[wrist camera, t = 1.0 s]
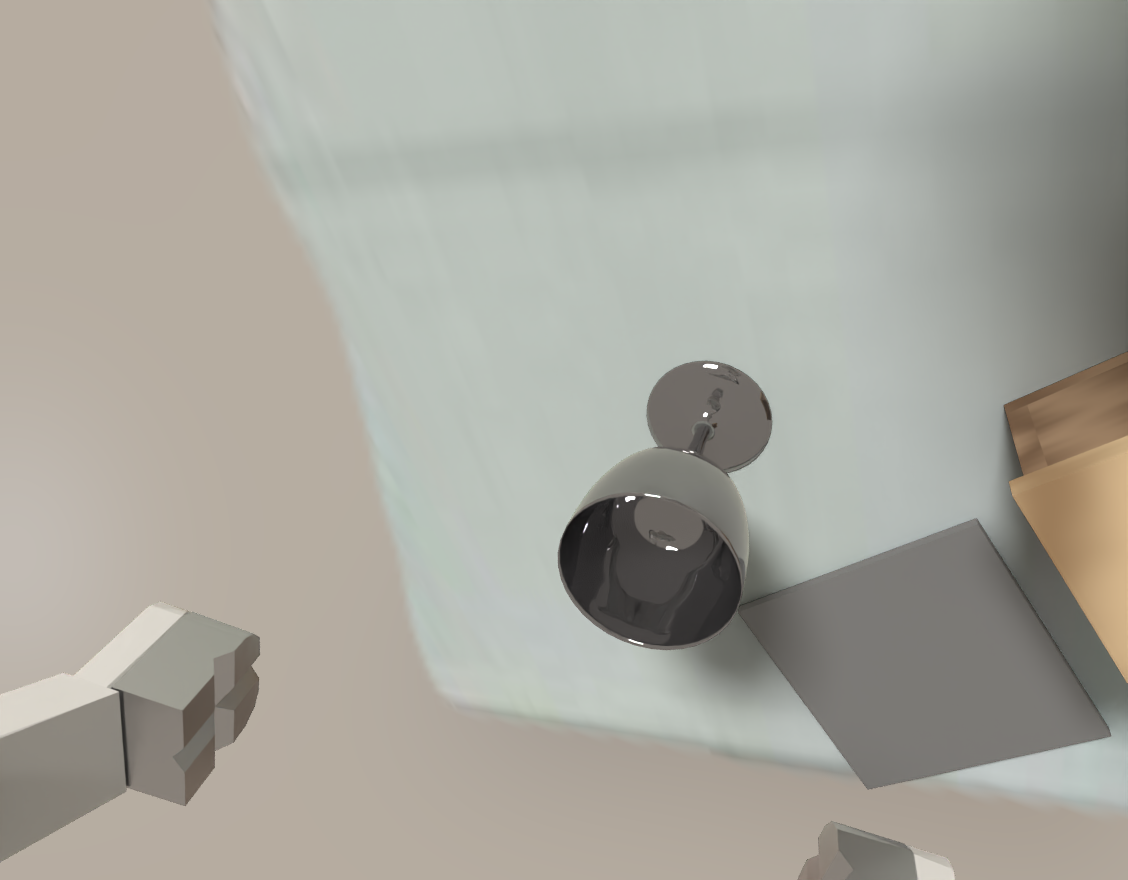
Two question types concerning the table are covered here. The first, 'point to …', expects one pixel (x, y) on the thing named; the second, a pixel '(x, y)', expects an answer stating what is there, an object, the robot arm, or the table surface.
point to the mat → (925, 660)
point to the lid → (1087, 534)
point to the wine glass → (671, 515)
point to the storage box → (1071, 415)
